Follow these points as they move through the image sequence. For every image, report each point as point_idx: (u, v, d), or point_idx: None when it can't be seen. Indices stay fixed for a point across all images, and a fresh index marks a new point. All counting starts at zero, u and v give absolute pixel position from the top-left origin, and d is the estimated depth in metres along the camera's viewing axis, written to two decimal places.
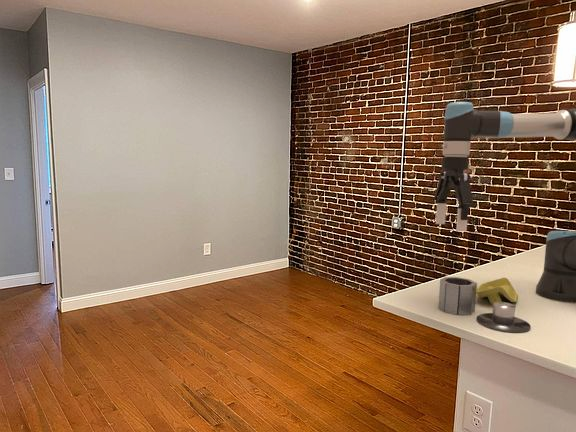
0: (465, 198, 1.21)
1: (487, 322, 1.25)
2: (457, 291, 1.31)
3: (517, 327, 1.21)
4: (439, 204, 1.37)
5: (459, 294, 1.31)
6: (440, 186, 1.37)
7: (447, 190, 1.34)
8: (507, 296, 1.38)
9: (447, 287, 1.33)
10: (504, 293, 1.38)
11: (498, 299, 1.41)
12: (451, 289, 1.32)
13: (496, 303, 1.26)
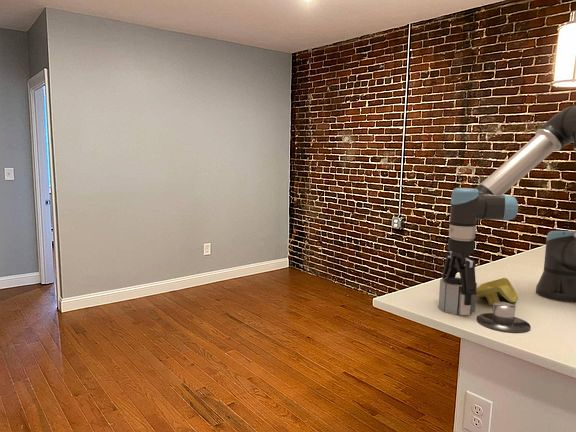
0: (469, 286, 1.27)
1: (487, 322, 1.25)
2: (457, 291, 1.31)
3: (517, 327, 1.21)
4: None
5: (459, 294, 1.31)
6: (447, 265, 1.41)
7: (454, 270, 1.38)
8: (505, 296, 1.38)
9: (447, 287, 1.33)
10: (502, 293, 1.38)
11: (496, 299, 1.40)
12: (451, 289, 1.32)
13: (496, 303, 1.26)
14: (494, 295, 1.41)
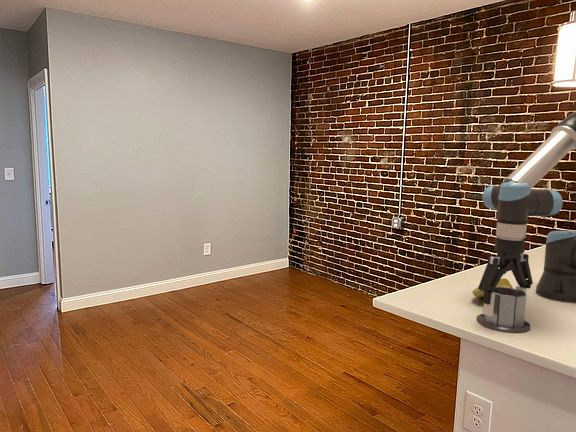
0: (481, 281, 1.21)
1: None
2: None
3: None
4: (517, 287, 1.28)
5: None
6: None
7: (516, 273, 1.25)
8: None
9: None
10: None
11: None
12: None
13: None
14: None
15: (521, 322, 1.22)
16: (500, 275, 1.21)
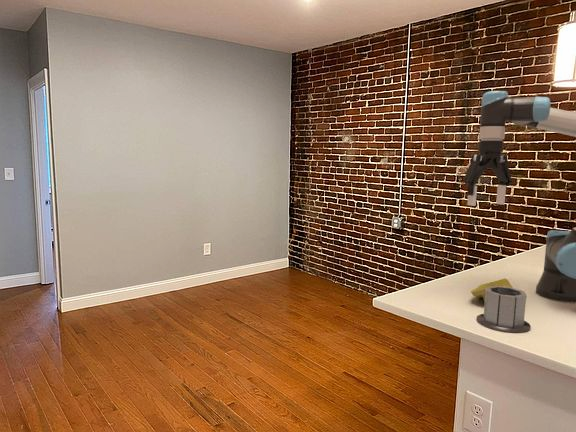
0: (465, 175, 1.41)
1: None
2: (486, 296, 1.25)
3: None
4: (499, 185, 1.49)
5: (487, 300, 1.24)
6: (501, 169, 1.48)
7: (497, 172, 1.46)
8: None
9: None
10: None
11: None
12: (485, 294, 1.27)
13: None
14: None
15: (521, 322, 1.22)
16: (482, 170, 1.41)
